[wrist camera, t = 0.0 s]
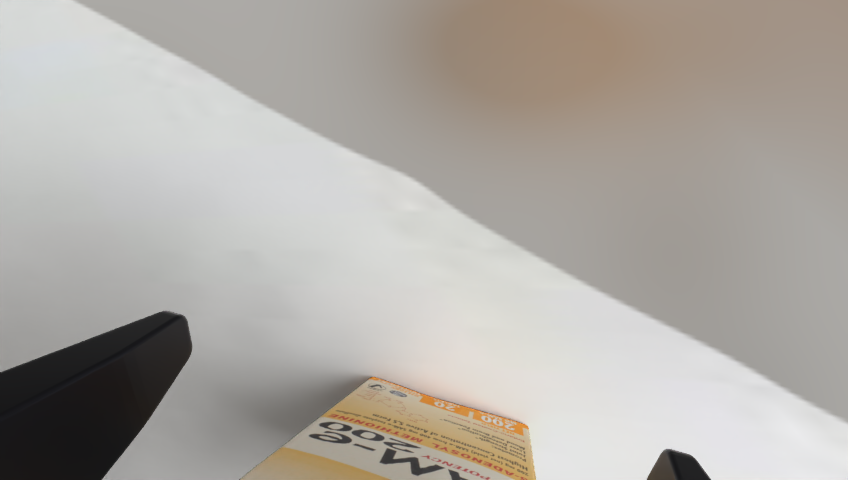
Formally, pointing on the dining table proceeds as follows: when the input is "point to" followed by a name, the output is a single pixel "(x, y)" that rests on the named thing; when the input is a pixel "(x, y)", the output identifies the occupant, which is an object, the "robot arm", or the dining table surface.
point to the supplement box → (402, 441)
